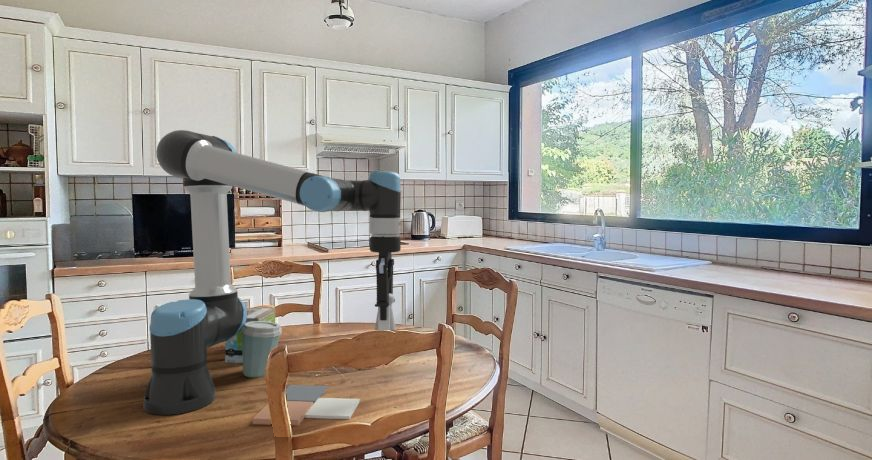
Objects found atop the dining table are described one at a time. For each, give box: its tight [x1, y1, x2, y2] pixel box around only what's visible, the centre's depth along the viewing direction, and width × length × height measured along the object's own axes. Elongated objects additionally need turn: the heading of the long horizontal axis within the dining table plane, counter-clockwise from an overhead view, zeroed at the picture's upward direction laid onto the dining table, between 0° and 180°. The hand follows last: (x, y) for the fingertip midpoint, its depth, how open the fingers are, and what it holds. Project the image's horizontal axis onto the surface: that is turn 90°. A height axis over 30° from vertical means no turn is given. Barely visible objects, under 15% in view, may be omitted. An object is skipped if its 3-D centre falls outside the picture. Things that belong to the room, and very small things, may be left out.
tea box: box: [224, 307, 276, 364], centre depth 151 cm, size 15×10×15 cm, turn 179°
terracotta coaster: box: [252, 401, 313, 426], centre depth 111 cm, size 10×10×1 cm
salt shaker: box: [374, 293, 397, 331], centre depth 122 cm, size 6×6×13 cm
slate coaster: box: [285, 384, 329, 404], centre depth 123 cm, size 10×10×1 cm
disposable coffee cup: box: [241, 321, 283, 378], centre depth 136 cm, size 11×11×15 cm
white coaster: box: [304, 397, 361, 420], centre depth 114 cm, size 10×10×1 cm
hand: (385, 330), depth 122 cm, fingers closed on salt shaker, 3 cm apart
